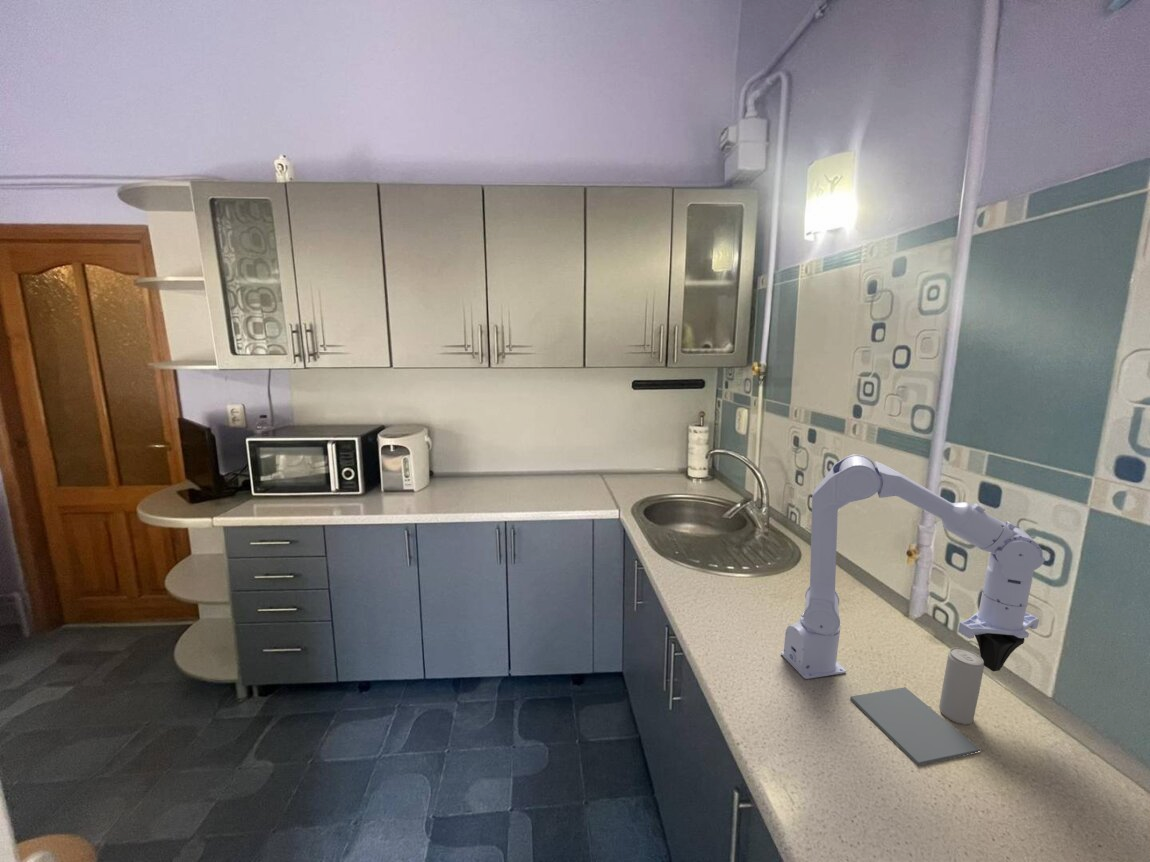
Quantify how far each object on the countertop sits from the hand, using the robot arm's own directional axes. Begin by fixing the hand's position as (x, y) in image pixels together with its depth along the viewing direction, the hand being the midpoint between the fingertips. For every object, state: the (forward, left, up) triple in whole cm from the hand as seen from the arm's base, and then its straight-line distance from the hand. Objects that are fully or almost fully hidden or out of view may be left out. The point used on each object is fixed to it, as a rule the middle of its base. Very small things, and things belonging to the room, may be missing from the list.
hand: (990, 667), depth 83 cm
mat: (-15, 0, -9) cm, 18 cm away
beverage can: (-6, 0, -9) cm, 11 cm away
